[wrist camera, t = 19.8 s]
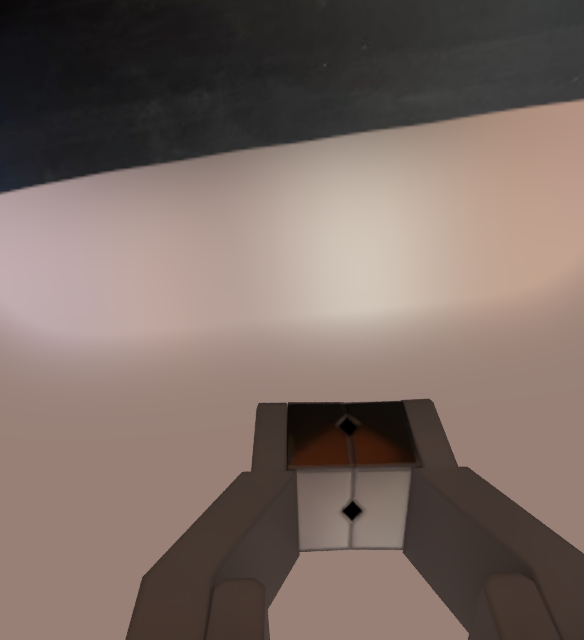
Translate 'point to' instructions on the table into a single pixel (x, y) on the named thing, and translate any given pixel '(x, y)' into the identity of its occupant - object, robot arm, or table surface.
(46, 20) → the table surface
